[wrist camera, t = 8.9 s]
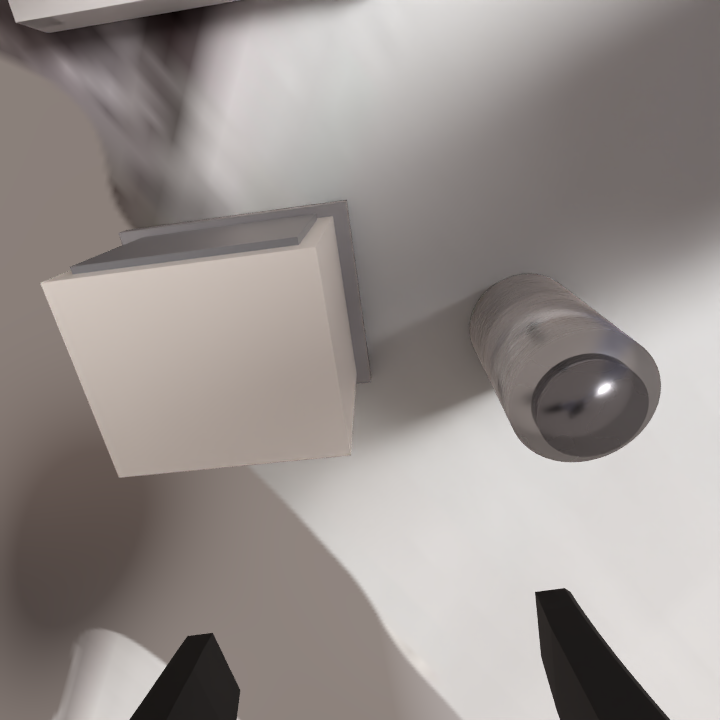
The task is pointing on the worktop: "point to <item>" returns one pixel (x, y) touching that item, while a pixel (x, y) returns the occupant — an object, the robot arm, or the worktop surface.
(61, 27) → the tray
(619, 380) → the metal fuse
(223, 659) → the robot arm
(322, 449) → the panel
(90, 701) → the worktop surface
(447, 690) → the worktop surface
